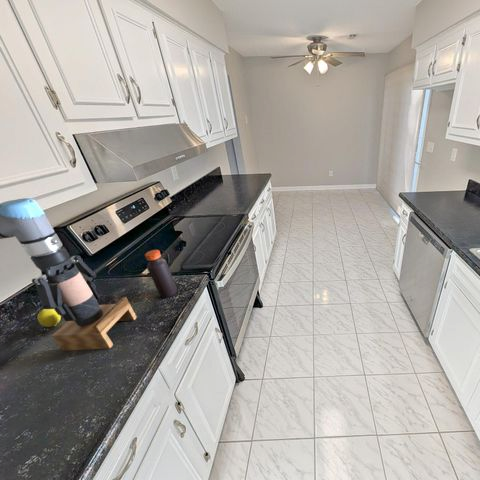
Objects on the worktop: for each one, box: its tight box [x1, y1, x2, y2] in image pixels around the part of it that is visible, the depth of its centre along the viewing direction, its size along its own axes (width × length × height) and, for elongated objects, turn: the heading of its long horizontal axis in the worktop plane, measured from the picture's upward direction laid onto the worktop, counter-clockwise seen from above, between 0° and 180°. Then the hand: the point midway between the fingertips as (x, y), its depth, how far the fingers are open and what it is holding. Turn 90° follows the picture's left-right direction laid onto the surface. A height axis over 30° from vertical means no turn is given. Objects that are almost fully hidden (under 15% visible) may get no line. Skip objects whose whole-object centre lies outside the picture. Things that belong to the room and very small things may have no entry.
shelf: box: [51, 296, 137, 352], centre depth 88 cm, size 16×14×10 cm
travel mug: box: [46, 263, 103, 326], centre depth 82 cm, size 8×8×20 cm
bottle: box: [144, 249, 178, 299], centre depth 104 cm, size 7×7×20 cm
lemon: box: [37, 308, 62, 328], centre depth 93 cm, size 6×6×8 cm
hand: (84, 308), depth 85 cm, fingers open, 9 cm apart
